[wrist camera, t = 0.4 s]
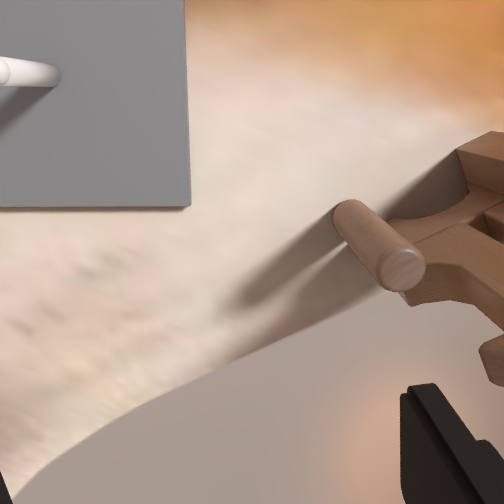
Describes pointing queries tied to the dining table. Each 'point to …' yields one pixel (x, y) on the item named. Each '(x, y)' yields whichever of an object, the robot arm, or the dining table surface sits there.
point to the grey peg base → (93, 103)
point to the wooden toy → (444, 246)
